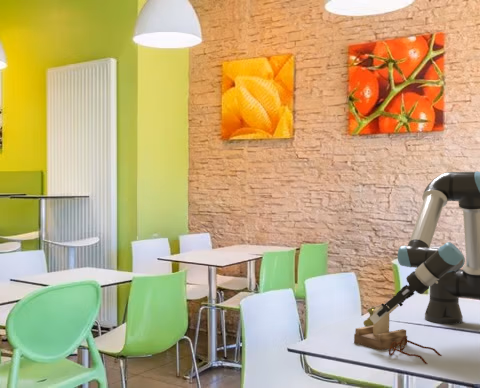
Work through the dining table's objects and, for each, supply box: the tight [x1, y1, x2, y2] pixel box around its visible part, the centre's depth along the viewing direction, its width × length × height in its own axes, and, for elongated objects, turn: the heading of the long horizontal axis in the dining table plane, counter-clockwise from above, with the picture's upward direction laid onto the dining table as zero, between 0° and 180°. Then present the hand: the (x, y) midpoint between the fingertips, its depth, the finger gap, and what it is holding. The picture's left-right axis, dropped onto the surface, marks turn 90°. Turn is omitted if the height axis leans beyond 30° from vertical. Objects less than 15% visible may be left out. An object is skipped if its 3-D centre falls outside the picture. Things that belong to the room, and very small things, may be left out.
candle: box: [373, 305, 390, 336], centre depth 203 cm, size 6×6×10 cm
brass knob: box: [363, 306, 377, 327], centre depth 218 cm, size 7×7×10 cm
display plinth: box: [353, 326, 408, 351], centre depth 204 cm, size 14×12×5 cm
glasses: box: [388, 337, 443, 365], centre depth 189 cm, size 13×13×5 cm
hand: (377, 317), depth 204 cm, fingers open, 13 cm apart
